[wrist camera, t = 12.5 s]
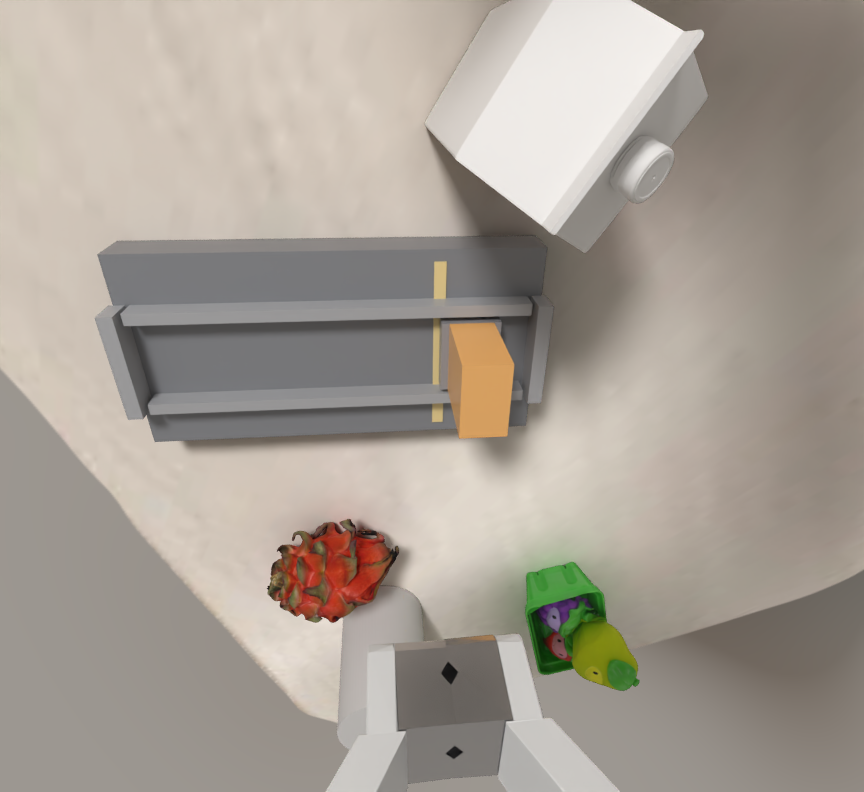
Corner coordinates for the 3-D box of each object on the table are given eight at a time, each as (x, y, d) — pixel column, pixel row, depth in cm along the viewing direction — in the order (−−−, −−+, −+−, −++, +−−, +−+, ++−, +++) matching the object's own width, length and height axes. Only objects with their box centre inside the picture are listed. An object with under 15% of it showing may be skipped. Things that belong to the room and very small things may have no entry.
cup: (379, 646, 60) (380, 765, 50) (327, 612, 56) (317, 733, 46) (436, 611, 58) (450, 728, 48) (386, 574, 54) (389, 691, 44)
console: (112, 241, 36) (77, 264, 31) (539, 235, 38) (560, 256, 34) (163, 419, 43) (140, 458, 39) (520, 405, 45) (536, 440, 41)
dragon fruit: (265, 536, 52) (385, 498, 54) (289, 624, 52) (410, 583, 53) (241, 552, 44) (384, 506, 45) (269, 657, 43) (414, 607, 45)
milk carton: (422, 124, 34) (469, 175, 18) (490, 8, 31) (619, -57, 15) (511, 189, 36) (623, 286, 20) (581, 87, 34) (776, 105, 18)
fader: (439, 316, 37) (453, 366, 31) (497, 314, 37) (523, 364, 31) (438, 380, 40) (451, 438, 33) (492, 378, 40) (515, 435, 34)
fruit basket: (511, 567, 56) (541, 672, 46) (596, 546, 55) (644, 647, 46) (527, 633, 62) (556, 739, 52) (604, 615, 61) (648, 718, 52)
